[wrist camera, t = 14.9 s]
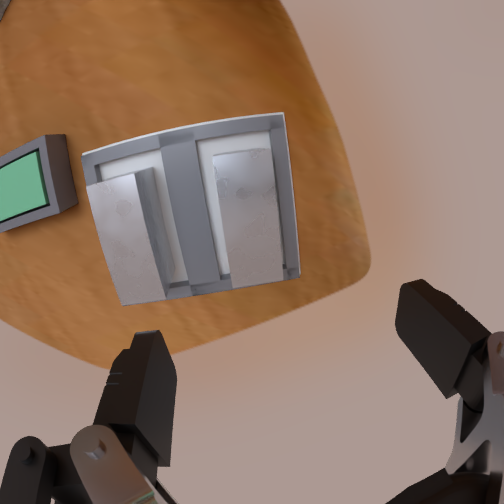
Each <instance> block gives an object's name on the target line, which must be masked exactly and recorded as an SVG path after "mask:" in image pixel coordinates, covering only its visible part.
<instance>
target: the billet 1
mask: <svg viewBox="0 0 504 504" xmlns="http://www.w3.org/2000/svg"><path fill="white" fill-rule="evenodd" d="M86 188H87V193H88V197H89V201H90V206H91V210H92V214H93V217H94V221H95V225H96V229H97V232H98V236H99V239H100V243H101V246H102V249H103V252H104V256H105V259H106V262H107V265H108V268H109V271H110V274H111V277H112V280H113V283H114V286H115V288H116V291H117V294H118V296H119V299H120V302H121V304H122V305H129V304H136V303H144V302H151V301H158V300H165V299H166V298H167V295H168V292H169V288H170V285H171V282H172V278H173V275H174V272H175V264H174V260H173V256H172V252H171V248H170V244H169V240H168V235H167V231H166V227H165V223H164V218H163V214H162V209H161V204H160V200H159V195H158V190H157V185H156V180H155V175H154V169H153V166H152V167H148V168H144V169H140V170H136V171H132V172H128V173H124V174H120V175H116V176H113V177H110V178H107V179H105V180H102V181H99V182H97V183H94V184H91V185H89V186H86Z"/></svg>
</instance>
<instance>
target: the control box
mask: <svg viewBox="0 0 504 504" xmlns="http://www.w3.org/2000/svg"><path fill="white" fill-rule="evenodd" d="M37 151H40V158H41V164H42V169H43V174H44V179H45V184H46V189H47V193H48V198H49V203H47V204H44V205H41V206H39V207H36V208H33V209H30V210H27V211H25V212H22V213H19V214H17V215H14V216H12V217H9V218H6V219H4V220H1V221H0V233H1V232H4V231H7V230H9V229H12V228H15V227H18V226H21V225H24V224H27V223H30V222H33V221H36V220H39V219H42V218H45V217H48V216H51V215H54V214H58V213H61V212H62V211H64V210H66V209H68V208H70V207H72V206H74V205H76V204H78V200H77V196H76V191H75V187H74V182H73V177H72V172H71V167H70V162H69V156H68V150H67V144H66V137H65V134H56V135H43V136H41V137H39V138H37V139H35V140H33V141H31V142H28V143H26V144H24V145H22V146H20V147H19V148H17V149H15V150H13V151H11V152H9V153H7V154H5V155H4V156H2V157H0V169H1V168H3V167H5V166H7V165H9V164H11V163H13V162H15V161H17V160H19V159H21V158H23V157H25V156H27V155H29V154H32V153H34V152H37Z"/></svg>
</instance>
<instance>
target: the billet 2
mask: <svg viewBox="0 0 504 504" xmlns="http://www.w3.org/2000/svg"><path fill="white" fill-rule="evenodd" d="M212 159H213V166H214V173H215V179H216V186H217V193H218V200H219V206H220V213H221V219H222V226H223V232H224V238H225V245H226V251H227V257H228V263H229V269H230V275H231V281H232V287H233V288H238V287H245V286H251V285H257V284H264V283H270V282H276V281H282V280H283V267H282V255H281V244H280V233H279V222H278V212H277V201H276V192H275V182H274V172H273V163H272V154H271V149H266V148H253V149H245V150H237V151H229V152H222V153H216V154H213V156H212Z"/></svg>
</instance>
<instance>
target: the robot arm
mask: <svg viewBox="0 0 504 504" xmlns="http://www.w3.org/2000/svg"><path fill="white" fill-rule="evenodd" d="M395 326H396V331H397V334H398V336H399V337H400V338H401V340H402V341H403V342H404V343H405V345H406V346H407V347H408V348H409V350H410V351H411V352H412V354H413V355H414V356H415V358H416V359H417V360H418V362H419V363H420V364H421V365H422V367H423V368H424V369H425V371H426V372H427V373H428V374H429V376H430V377H431V379H432V380H433V381H434V383H435V384H436V385H437V387H438V388H439V390H440V391H441V392H442V394H443V395H444V396H445V398H446V399H447V398H449V397H451V396H453V395H455V394H457V393H459V394H460V395H461V397H460V399H459V401H458V410H457V423H456V431H455V440H454V447H453V451H452V454H451V456H450V458H449V460H448V462H447V464H446V467H445V468H443V469H441V470H440V471H438V472H436V473H434V474H433V475H431V476H429V477H427V478H425V479H424V480H421V481H420V482H417V483H415V484H413V485H411V486H409V487H408V488H406V489H405V490H404V491H402V492H401V493H400V494H398V495H397V496H396V497H395V498H393V499H392V500H390V501H389V502H387V503H386V504H504V332H495V333H493V334H492V333H491V332H489V331H488V330H487V329H486V328H485V327H484V326H483V325H482V324H481V323H480V322H478V320H476V319H475V318H474V317H473V316H472V315H471V314H470V313H468V312H467V311H465V309H464V308H463V307H461V305H459V304H457V302H456V301H455V300H454V299H452V298H451V297H450V296H449V295H447V294H445V293H443V292H441V291H439V290H436V289H435V288H433V287H432V286H431V285H430V284H429V283H427V282H426V281H425V280H423V279H419V280H415V281H412V282H408V283H404V284H403V285H402V286H401V288H400V294H399V300H398V308H397V313H396V319H395ZM176 386H177V375H176V369H175V366H174V363H173V361H172V359H171V356H170V353H169V351H168V349H167V346H166V344H165V341H164V338H163V336H162V334H161V332H160V331H159V330H154V331H145V332H136V333H135V335H134V338H133V340H132V343H131V346H130V349H123V350H122V352H121V353H120V354H119V355H118V356H117V357H116V359H115V360H114V362H113V364H112V367H111V370H110V375H109V376H108V379H107V382H106V386H105V387H104V390H103V394H102V397H101V400H100V403H99V406H98V409H97V412H96V416H95V419H94V423H93V425H91V426H87V427H85V428H83V429H82V430H80V431H79V432H78V433H77V434H76V435H75V436H74V438H73V439H72V442H71V443H70V444H65V445H59V446H53V447H47V446H46V445H45V444H44V443H43V442H42V441H41V440H40V439H38V438H36V437H33V436H27V437H24V438H22V439H20V440H19V441H18V442H16V443H15V445H14V446H13V448H12V450H11V453H10V456H9V459H8V462H7V466H6V469H5V473H4V476H3V480H2V484H1V488H0V504H50V503H51V498H53V499H54V500H55V504H179V503H178V502H177V501H176V500H175V499H174V498H173V497H172V495H171V494H170V493H169V492H168V490H167V489H166V488H165V487H164V486H163V484H162V483H161V482H160V481H159V479H158V478H157V467H158V466H160V467H170V458H171V443H172V429H173V417H174V405H175V395H176Z"/></svg>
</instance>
